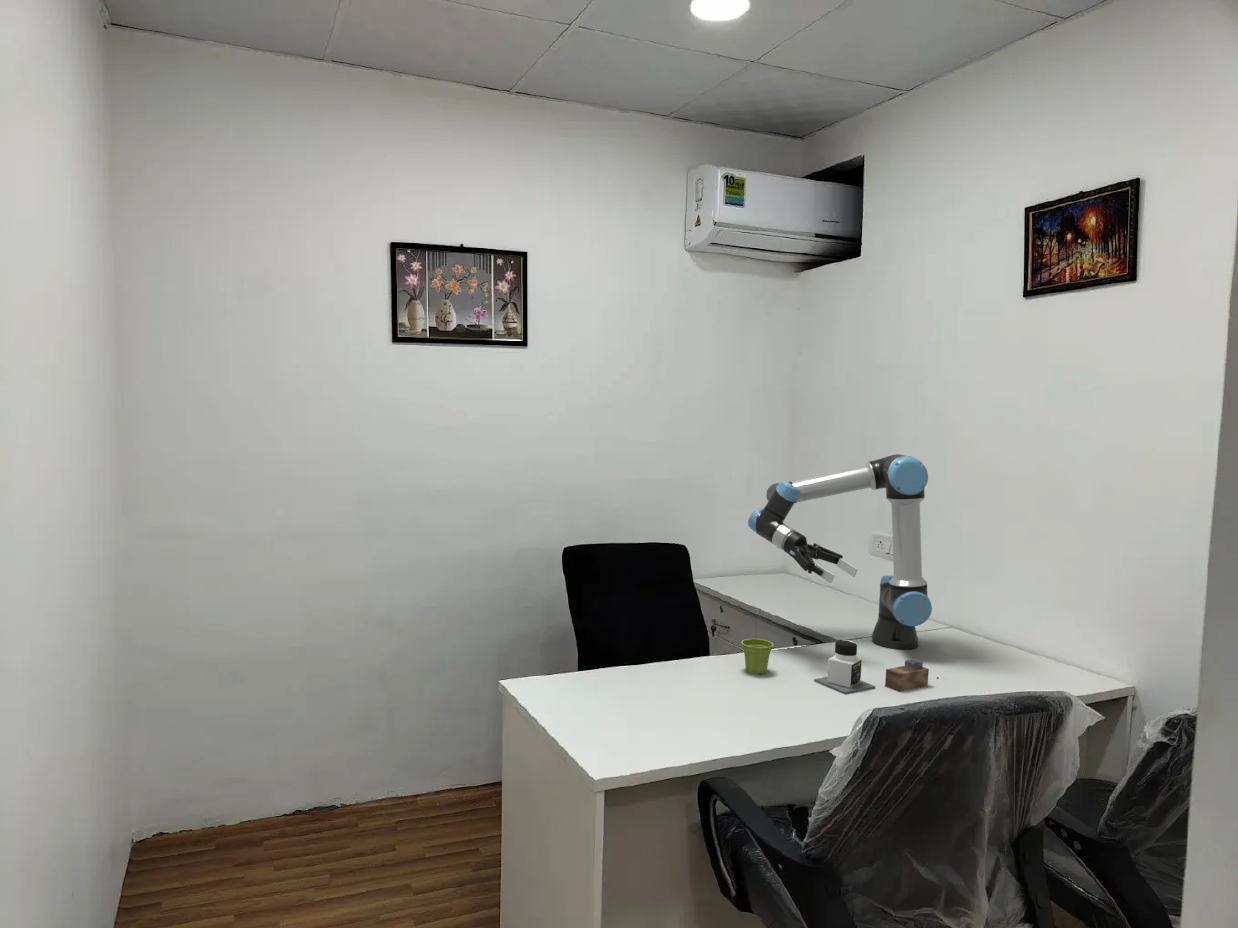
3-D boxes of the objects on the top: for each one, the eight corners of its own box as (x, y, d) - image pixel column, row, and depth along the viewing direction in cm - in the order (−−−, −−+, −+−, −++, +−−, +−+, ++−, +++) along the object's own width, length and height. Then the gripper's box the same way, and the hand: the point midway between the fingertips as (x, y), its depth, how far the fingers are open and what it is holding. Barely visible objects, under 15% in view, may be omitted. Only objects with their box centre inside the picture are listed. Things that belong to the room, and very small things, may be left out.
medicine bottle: (850, 688, 236) (853, 646, 235) (826, 682, 240) (829, 641, 239) (860, 682, 241) (863, 641, 240) (837, 676, 246) (839, 636, 245)
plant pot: (735, 672, 248) (736, 643, 247) (746, 664, 256) (747, 636, 255) (766, 678, 243) (767, 649, 243) (775, 670, 252) (777, 641, 251)
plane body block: (913, 680, 247) (915, 657, 246) (927, 685, 242) (929, 662, 242) (885, 686, 241) (886, 662, 240) (898, 691, 236) (900, 667, 236)
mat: (844, 675, 249) (844, 673, 249) (875, 688, 239) (875, 686, 238) (814, 681, 243) (814, 679, 243) (844, 694, 232) (844, 692, 232)
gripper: (807, 546, 277) (860, 580, 263) (763, 555, 259) (817, 592, 246) (815, 526, 274) (869, 560, 261) (771, 534, 256) (827, 570, 243)
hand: (844, 576), depth 253 cm, fingers open, 13 cm apart
